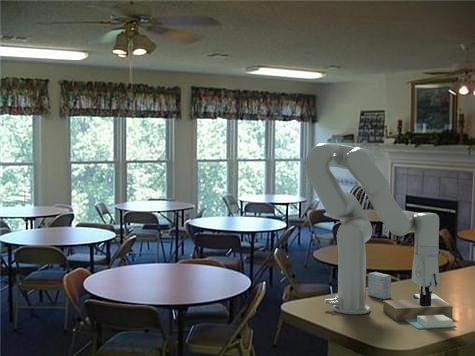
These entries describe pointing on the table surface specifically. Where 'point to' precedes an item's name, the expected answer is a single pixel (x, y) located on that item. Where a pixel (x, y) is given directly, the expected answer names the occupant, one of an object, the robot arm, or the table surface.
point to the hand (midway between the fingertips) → (425, 305)
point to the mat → (419, 326)
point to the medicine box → (379, 285)
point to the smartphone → (433, 296)
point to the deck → (415, 309)
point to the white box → (434, 321)
